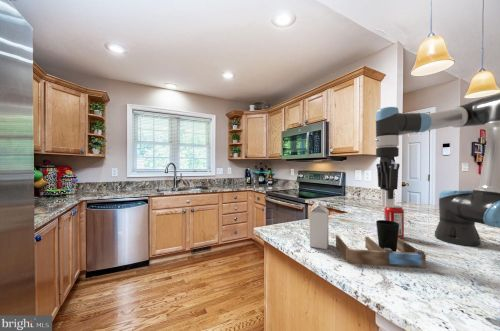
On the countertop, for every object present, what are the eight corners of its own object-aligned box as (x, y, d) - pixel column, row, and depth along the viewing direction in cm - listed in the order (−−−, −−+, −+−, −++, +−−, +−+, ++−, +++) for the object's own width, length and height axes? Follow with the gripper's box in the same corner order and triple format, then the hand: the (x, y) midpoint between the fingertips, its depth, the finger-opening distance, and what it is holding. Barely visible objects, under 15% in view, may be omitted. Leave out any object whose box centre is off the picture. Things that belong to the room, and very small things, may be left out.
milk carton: (328, 244, 92) (328, 201, 92) (327, 249, 86) (327, 203, 86) (312, 241, 95) (311, 200, 95) (309, 247, 89) (309, 202, 89)
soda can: (397, 240, 96) (397, 208, 96) (380, 235, 103) (380, 205, 103) (407, 238, 99) (407, 206, 99) (390, 233, 107) (390, 203, 107)
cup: (403, 257, 78) (403, 225, 78) (381, 255, 80) (380, 224, 80) (393, 249, 86) (393, 220, 86) (373, 248, 87) (373, 219, 87)
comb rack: (399, 249, 86) (398, 235, 86) (426, 268, 70) (426, 252, 70) (335, 245, 90) (335, 232, 90) (347, 263, 73) (347, 248, 73)
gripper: (368, 148, 91) (369, 202, 91) (386, 145, 76) (386, 210, 76) (387, 148, 90) (387, 203, 90) (409, 145, 75) (409, 210, 74)
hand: (387, 206), depth 83 cm, fingers open, 3 cm apart
